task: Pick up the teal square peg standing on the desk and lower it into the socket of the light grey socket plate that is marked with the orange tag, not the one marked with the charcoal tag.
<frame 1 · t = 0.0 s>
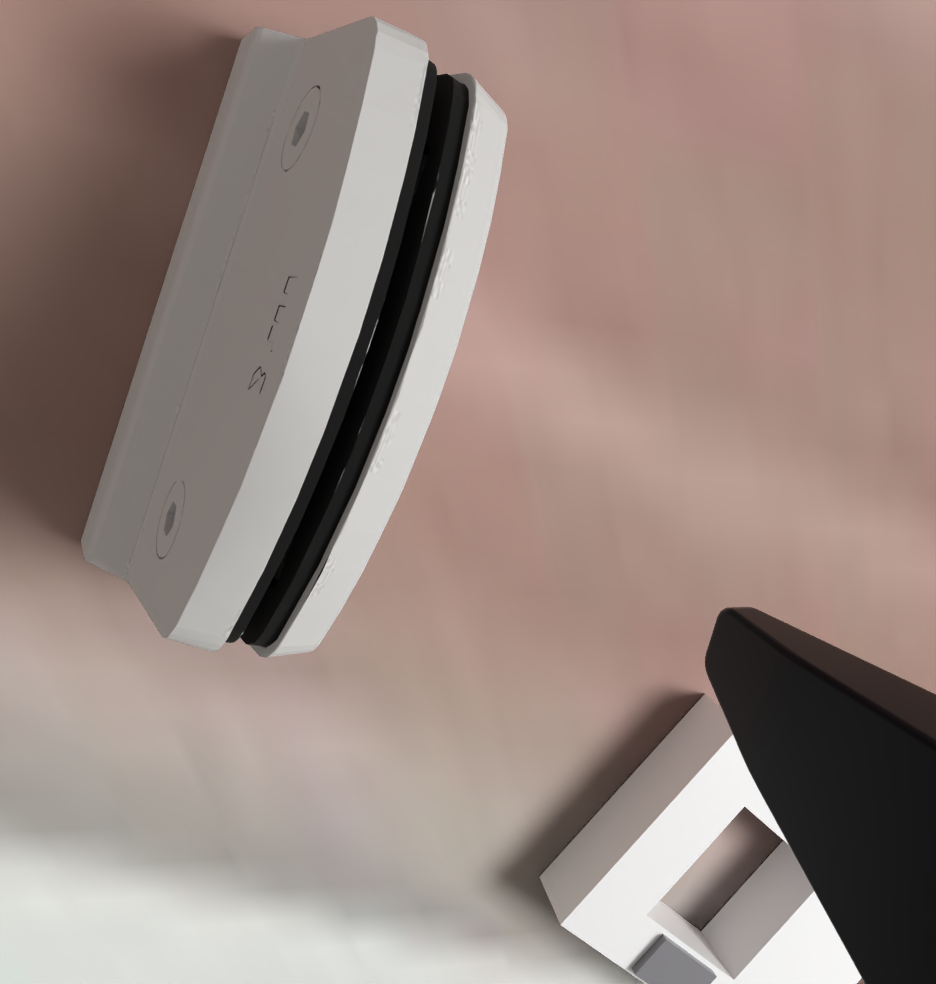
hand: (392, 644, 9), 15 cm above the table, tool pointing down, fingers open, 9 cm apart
white curved block: (283, 347, 23), on the table
socket plate: (779, 912, 32), on the table
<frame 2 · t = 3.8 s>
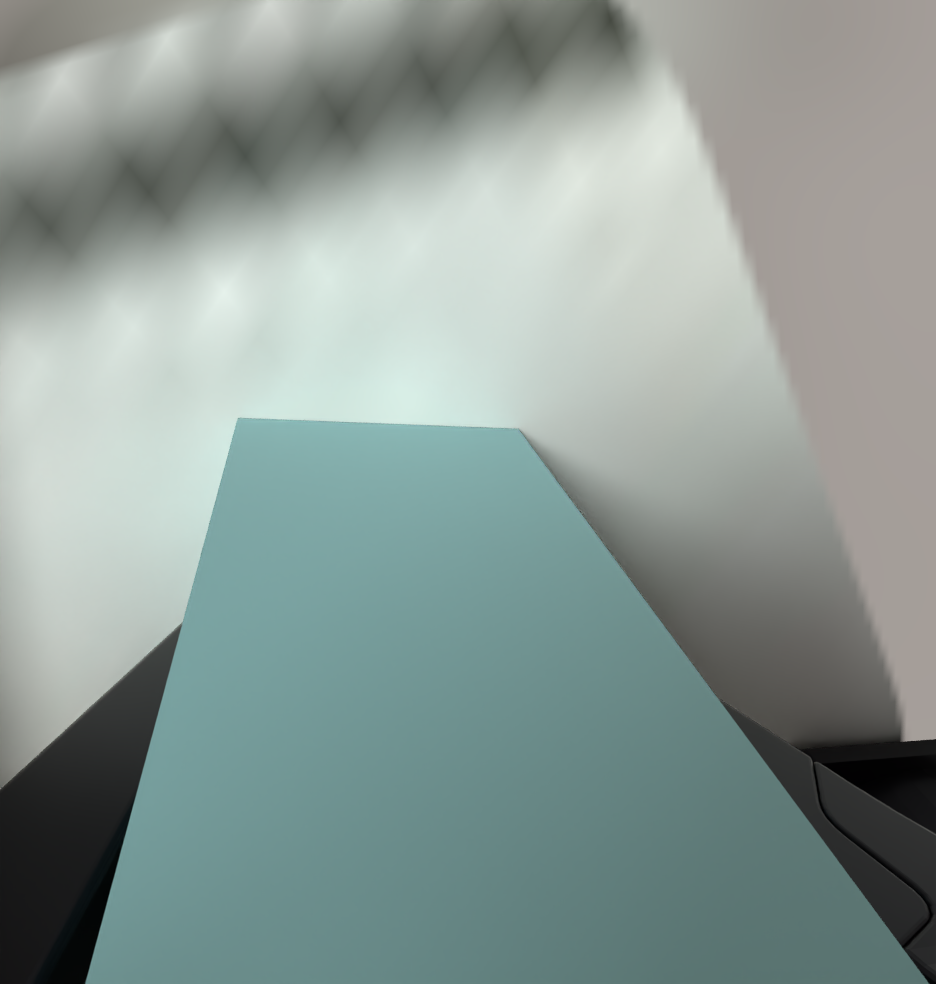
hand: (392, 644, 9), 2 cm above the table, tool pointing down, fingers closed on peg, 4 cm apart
peg: (376, 545, 11), on the table, touching gripper
when the fingers open (4 cm above the table, at t = 8.5 s): peg drops 2 cm, resting in socket plate.
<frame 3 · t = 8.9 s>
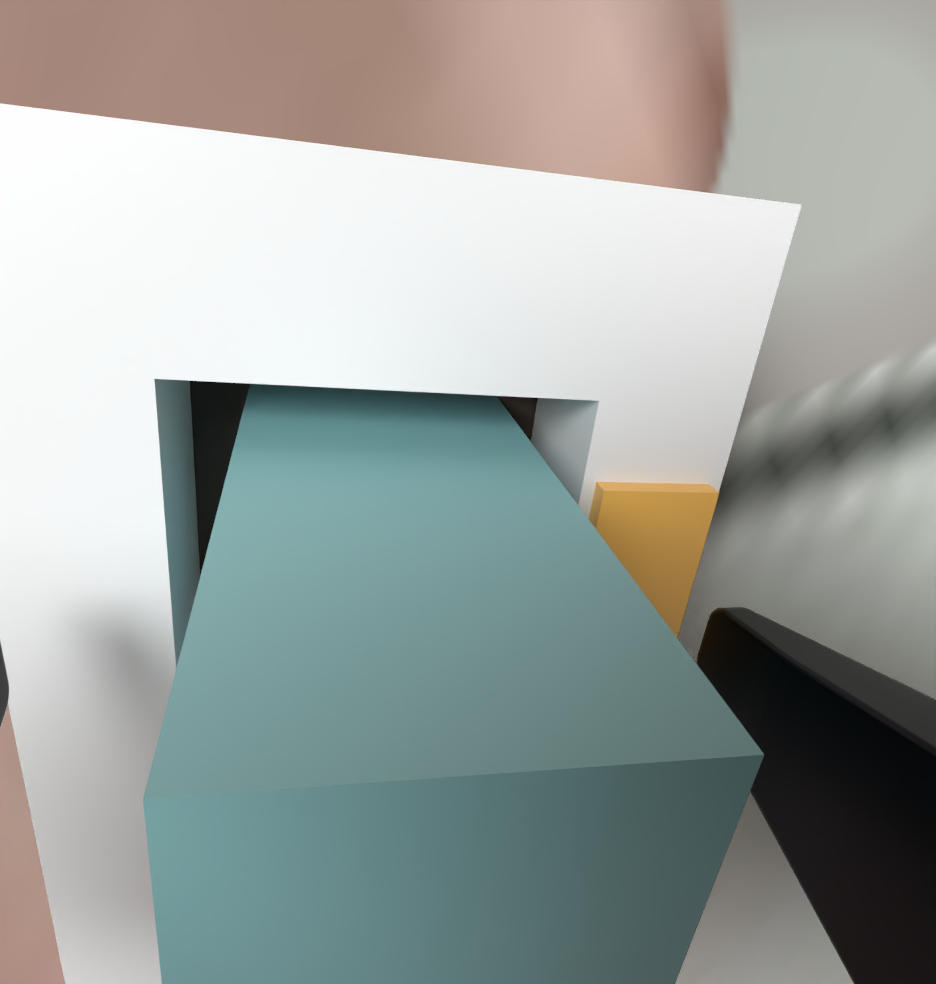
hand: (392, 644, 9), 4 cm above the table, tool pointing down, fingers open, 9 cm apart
peg: (370, 499, 12), resting in socket plate
socket plate: (352, 740, 15), on the table
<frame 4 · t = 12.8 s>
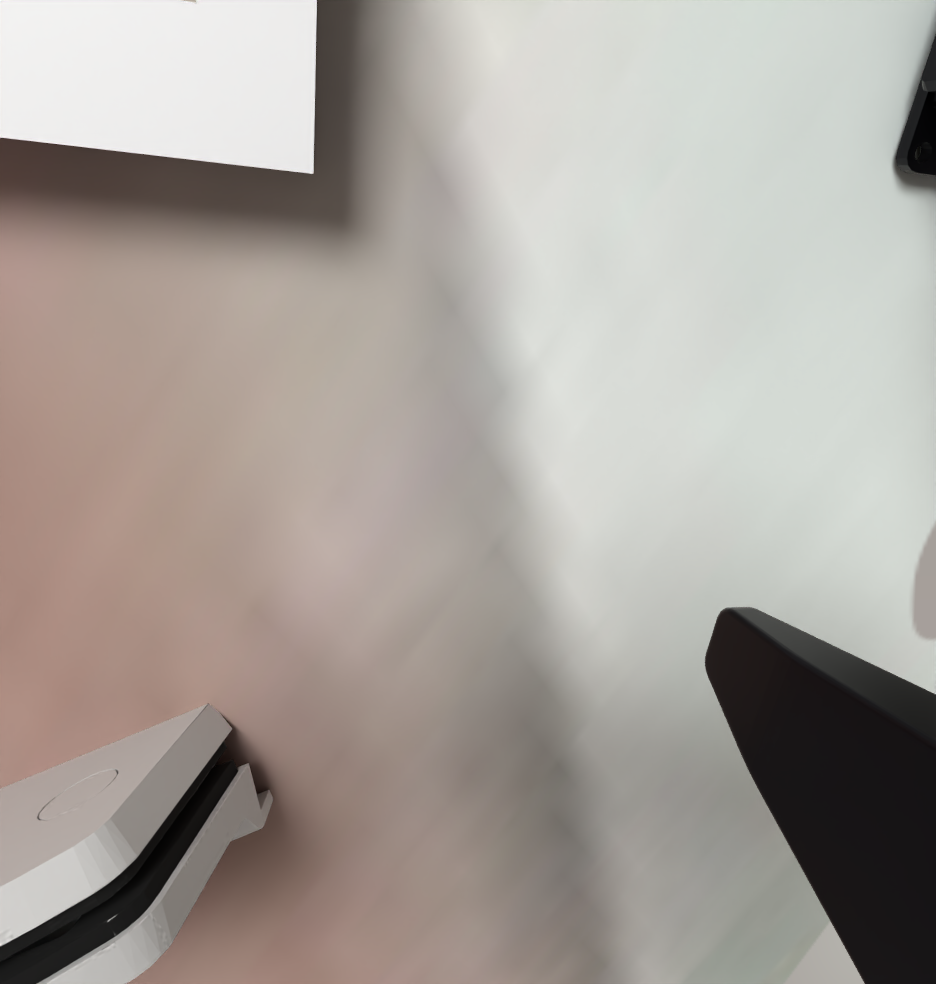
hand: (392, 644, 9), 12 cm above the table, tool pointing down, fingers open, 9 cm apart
white curved block: (2, 810, 24), on the table
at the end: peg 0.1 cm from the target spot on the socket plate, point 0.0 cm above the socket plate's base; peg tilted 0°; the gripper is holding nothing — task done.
